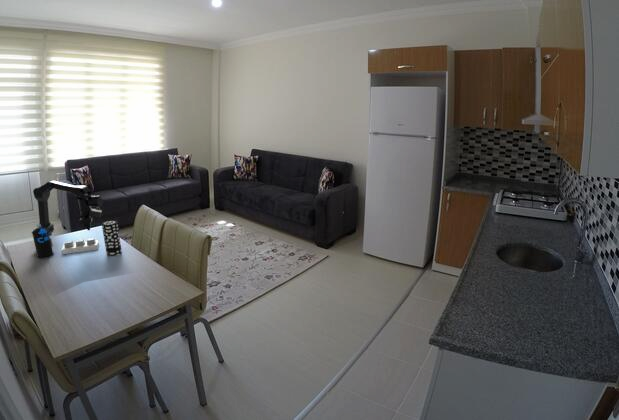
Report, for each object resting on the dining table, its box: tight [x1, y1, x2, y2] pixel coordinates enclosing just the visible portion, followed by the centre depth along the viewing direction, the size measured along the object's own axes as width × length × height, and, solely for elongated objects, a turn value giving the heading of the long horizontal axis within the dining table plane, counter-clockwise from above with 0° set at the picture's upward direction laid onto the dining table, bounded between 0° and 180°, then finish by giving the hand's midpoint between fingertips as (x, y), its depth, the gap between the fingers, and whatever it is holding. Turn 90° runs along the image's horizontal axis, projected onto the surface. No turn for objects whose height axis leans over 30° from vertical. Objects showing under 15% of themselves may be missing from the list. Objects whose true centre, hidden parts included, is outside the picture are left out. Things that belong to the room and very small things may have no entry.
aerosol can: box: [31, 223, 55, 259], centre depth 215 cm, size 8×8×20 cm
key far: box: [86, 237, 96, 245], centre depth 229 cm, size 4×4×3 cm
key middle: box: [75, 238, 85, 246], centre depth 227 cm, size 4×4×3 cm
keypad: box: [61, 239, 100, 255], centre depth 228 cm, size 19×9×3 cm, turn 116°
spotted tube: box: [101, 220, 123, 257], centre depth 219 cm, size 8×8×20 cm
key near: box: [63, 240, 74, 248], centre depth 224 cm, size 4×4×3 cm
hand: (89, 229), depth 227 cm, fingers closed
